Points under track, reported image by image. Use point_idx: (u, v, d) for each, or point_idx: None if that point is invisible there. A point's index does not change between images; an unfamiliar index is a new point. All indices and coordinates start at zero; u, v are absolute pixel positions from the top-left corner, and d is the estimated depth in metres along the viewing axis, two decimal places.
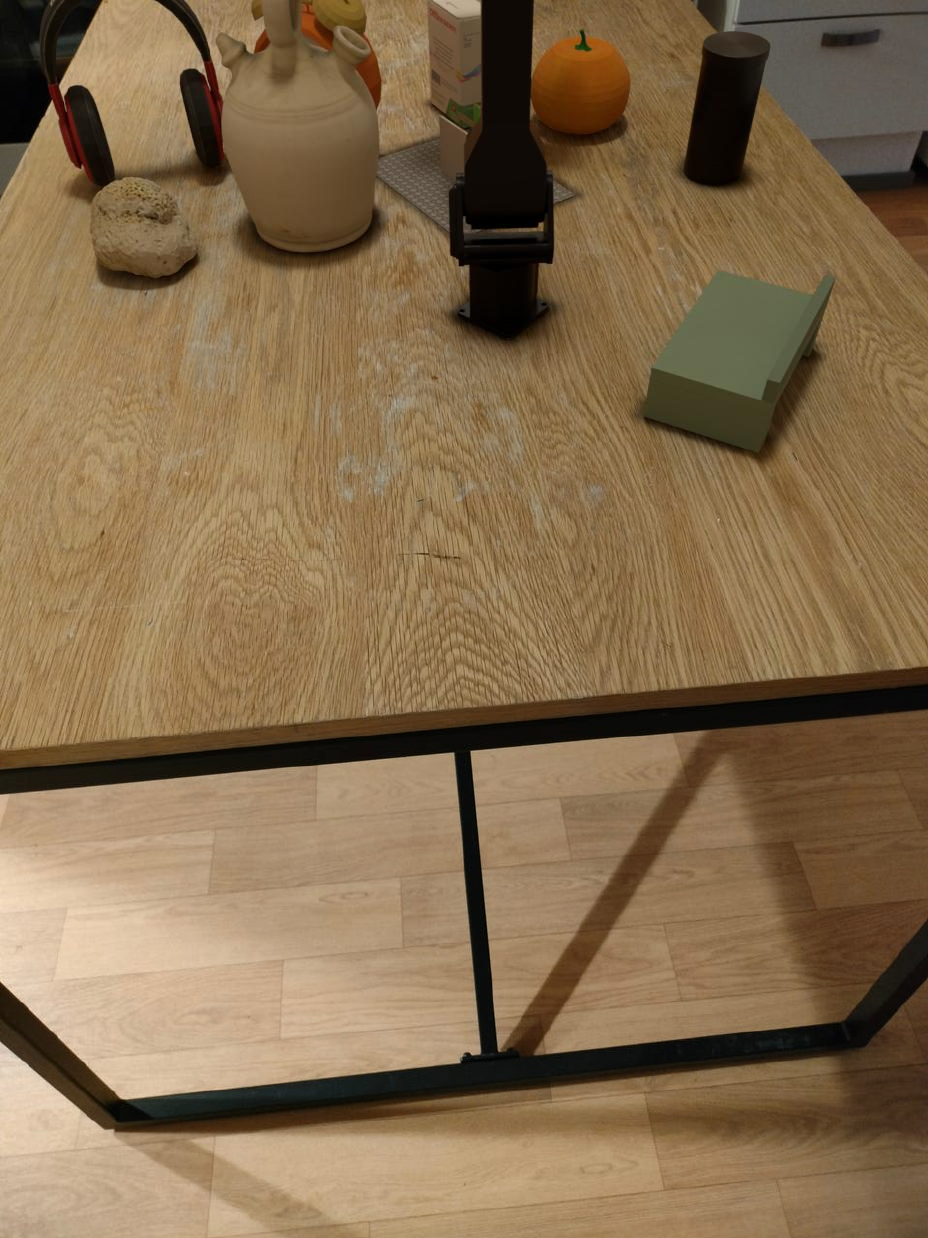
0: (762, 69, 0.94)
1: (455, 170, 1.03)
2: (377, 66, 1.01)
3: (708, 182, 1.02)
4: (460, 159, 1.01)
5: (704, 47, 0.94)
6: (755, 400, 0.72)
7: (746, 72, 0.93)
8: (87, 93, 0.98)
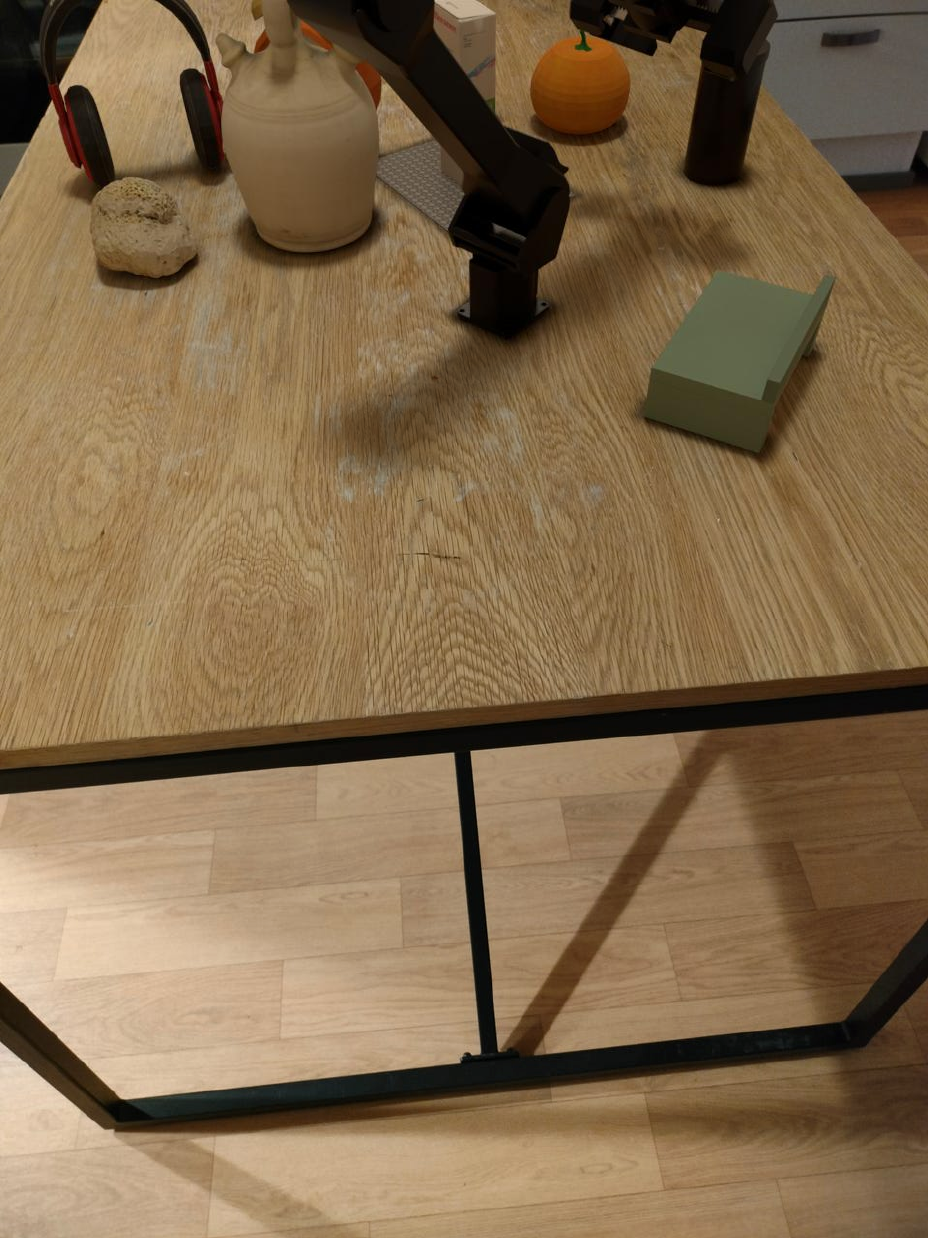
0: (762, 69, 0.94)
1: (455, 170, 1.03)
2: None
3: (708, 182, 1.02)
4: None
5: None
6: (755, 400, 0.72)
7: None
8: (87, 93, 0.98)
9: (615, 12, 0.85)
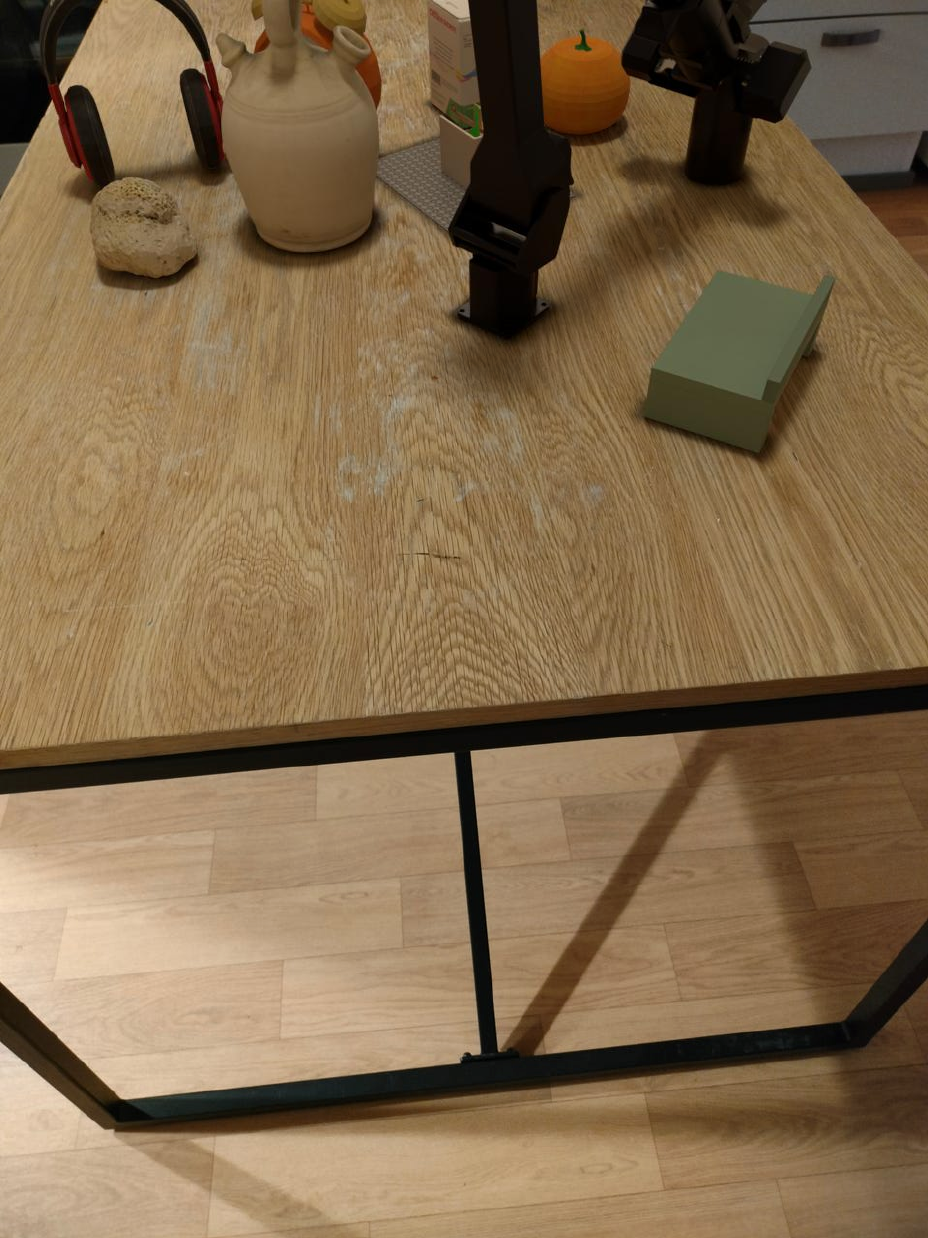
0: None
1: (455, 170, 1.03)
2: (377, 66, 1.01)
3: (708, 181, 1.02)
4: (460, 159, 1.01)
5: None
6: (755, 400, 0.72)
7: None
8: (87, 93, 0.98)
9: (673, 65, 0.94)
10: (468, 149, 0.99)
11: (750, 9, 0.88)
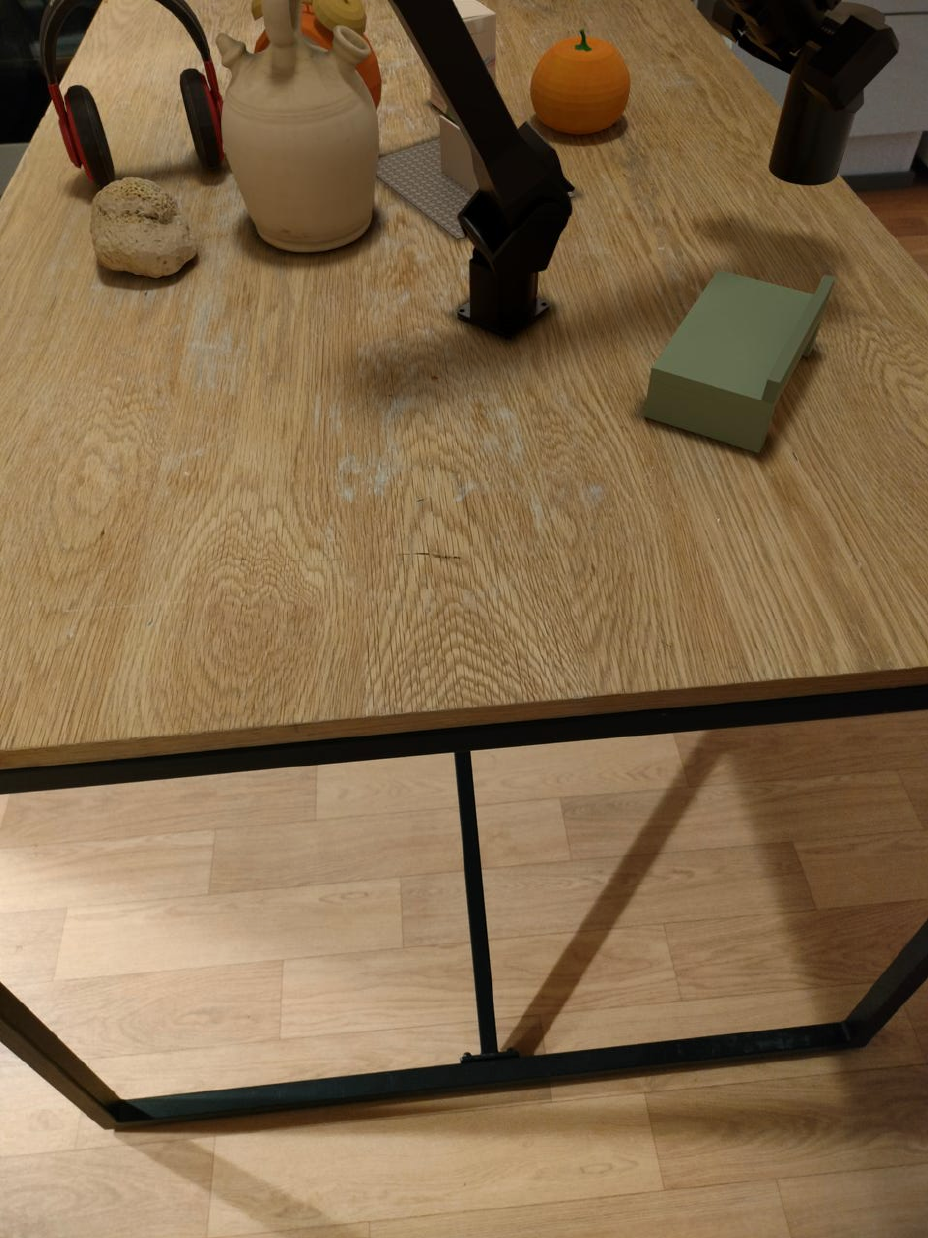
0: None
1: (455, 170, 1.03)
2: (377, 66, 1.01)
3: (785, 178, 0.87)
4: (460, 159, 1.01)
5: None
6: (755, 400, 0.72)
7: None
8: (87, 93, 0.98)
9: None
10: (468, 149, 0.99)
11: None
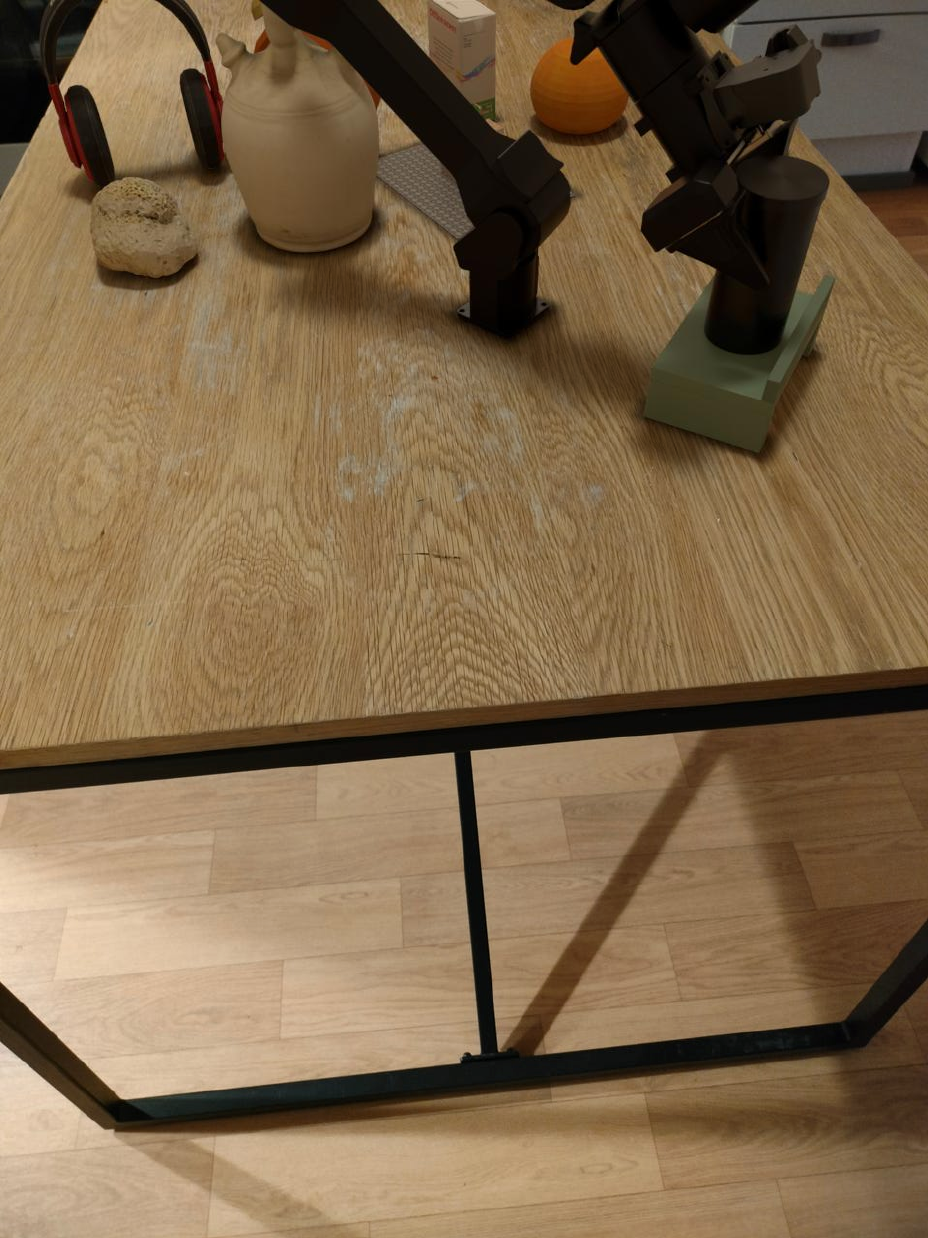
0: (768, 221, 0.67)
1: None
2: None
3: (704, 327, 0.77)
4: None
5: None
6: (755, 400, 0.72)
7: None
8: (87, 93, 0.98)
9: None
10: None
11: (736, 108, 0.63)
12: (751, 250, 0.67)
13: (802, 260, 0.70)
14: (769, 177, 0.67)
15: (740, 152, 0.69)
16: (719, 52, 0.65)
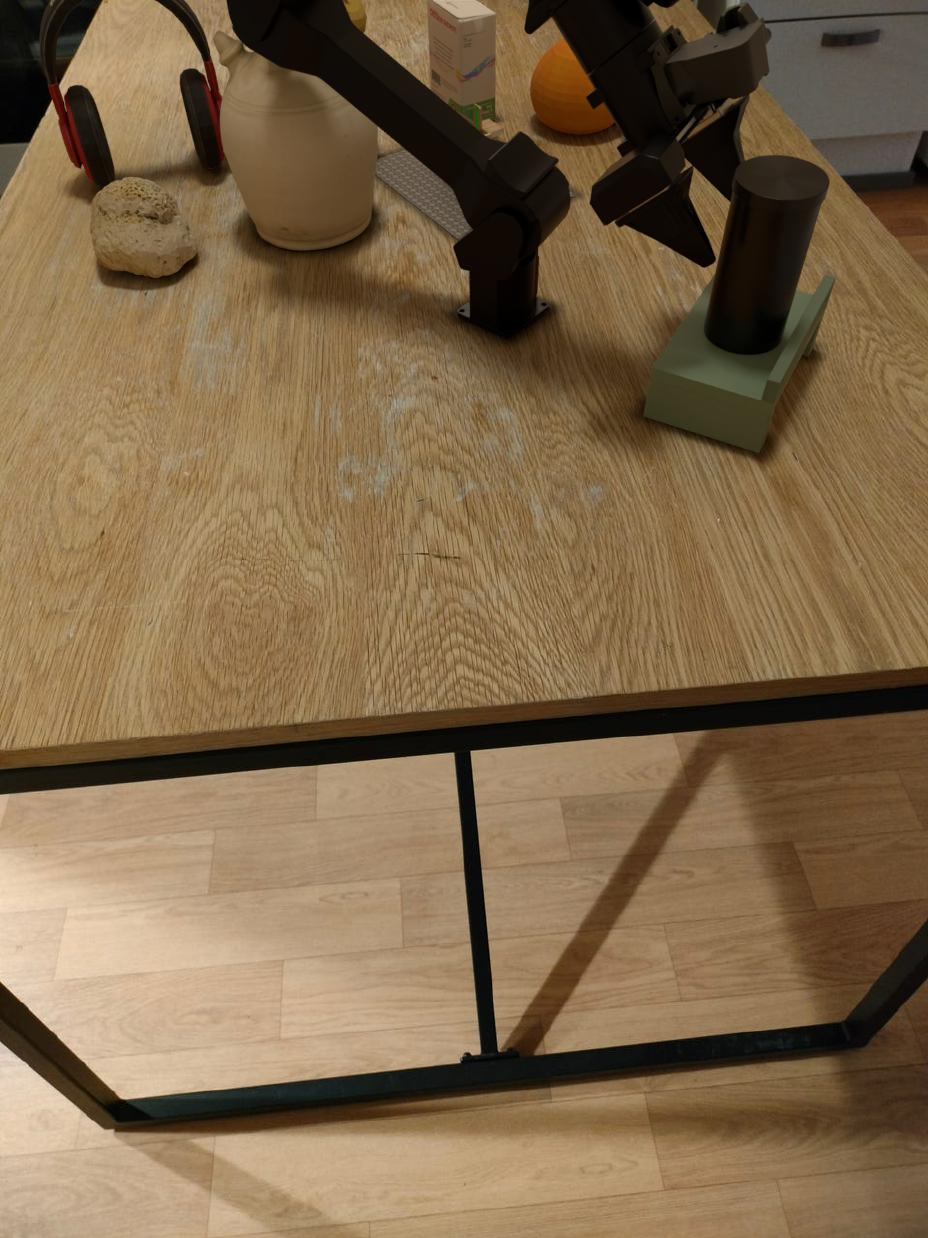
0: (768, 221, 0.67)
1: None
2: None
3: (704, 327, 0.77)
4: None
5: None
6: (755, 400, 0.72)
7: (740, 207, 0.67)
8: (87, 93, 0.98)
9: None
10: None
11: (685, 83, 0.63)
12: (698, 227, 0.67)
13: (802, 260, 0.70)
14: (769, 177, 0.67)
15: (691, 129, 0.70)
16: (671, 27, 0.66)
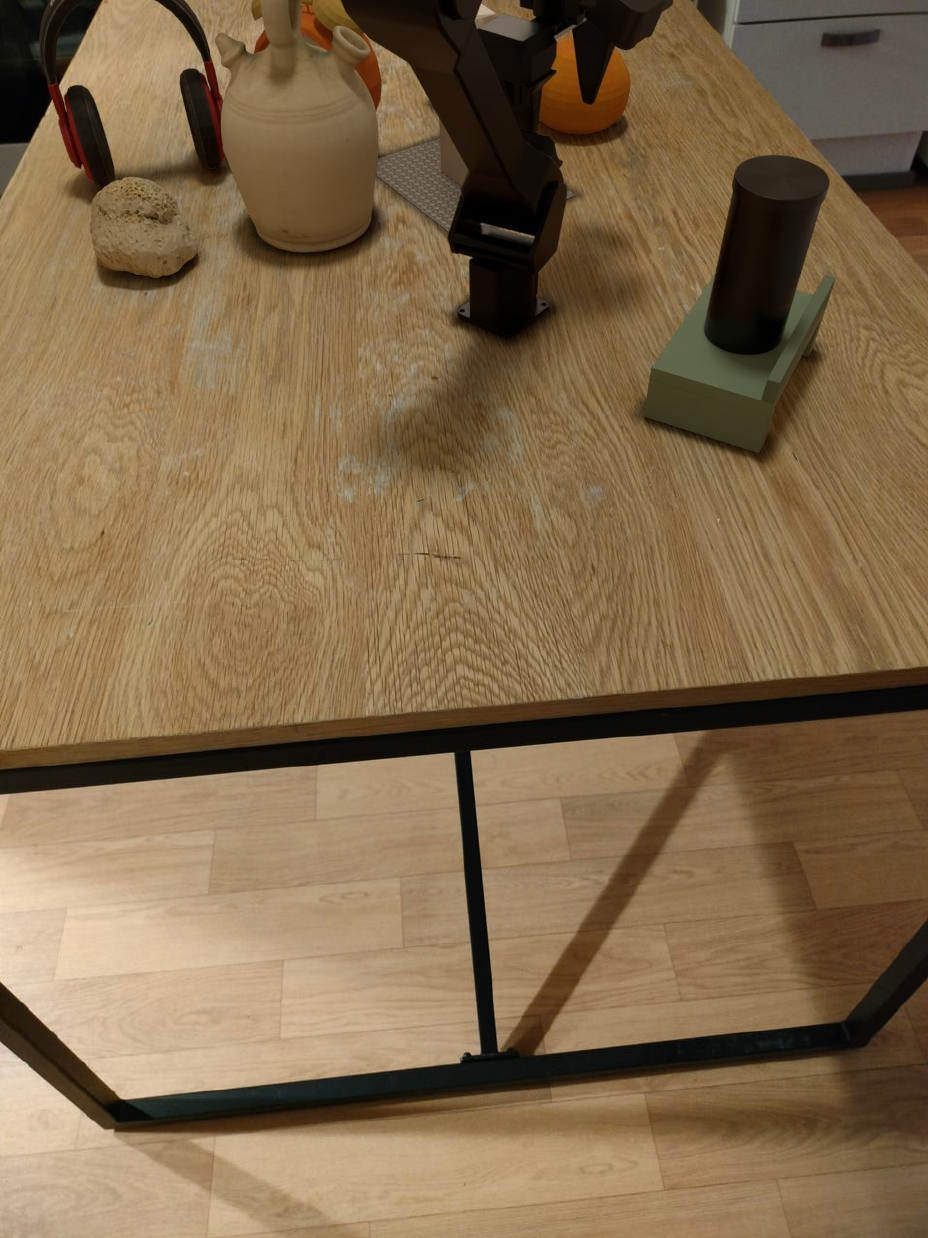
0: (768, 221, 0.67)
1: (455, 170, 1.03)
2: (377, 66, 1.01)
3: (704, 327, 0.77)
4: (460, 159, 1.01)
5: None
6: (755, 400, 0.72)
7: (740, 207, 0.67)
8: (87, 93, 0.98)
9: None
10: None
11: (589, 1, 0.72)
12: (535, 114, 0.79)
13: (802, 260, 0.70)
14: (769, 177, 0.67)
15: None
16: None
